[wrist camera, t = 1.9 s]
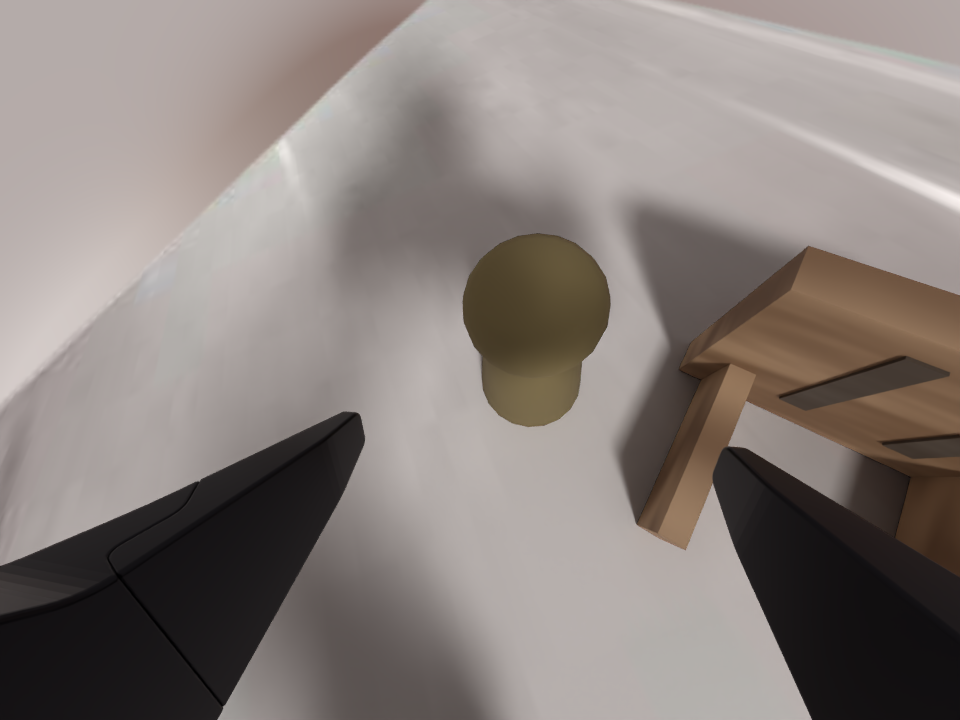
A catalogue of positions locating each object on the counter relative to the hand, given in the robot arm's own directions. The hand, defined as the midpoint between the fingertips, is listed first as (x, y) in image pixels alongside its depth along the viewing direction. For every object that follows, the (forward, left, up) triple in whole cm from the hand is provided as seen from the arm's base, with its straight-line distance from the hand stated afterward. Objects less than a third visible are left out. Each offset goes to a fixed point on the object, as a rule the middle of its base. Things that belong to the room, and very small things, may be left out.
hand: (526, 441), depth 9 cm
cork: (+4, +3, -12) cm, 13 cm away
